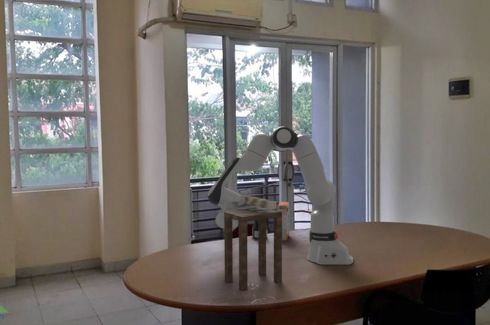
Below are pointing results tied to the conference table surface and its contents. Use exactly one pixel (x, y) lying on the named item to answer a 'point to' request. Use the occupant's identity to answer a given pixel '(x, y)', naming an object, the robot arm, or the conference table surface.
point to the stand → (243, 217)
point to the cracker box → (284, 219)
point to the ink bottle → (256, 230)
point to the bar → (260, 202)
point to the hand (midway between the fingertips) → (250, 199)
